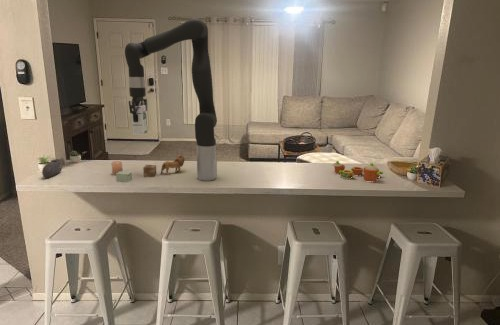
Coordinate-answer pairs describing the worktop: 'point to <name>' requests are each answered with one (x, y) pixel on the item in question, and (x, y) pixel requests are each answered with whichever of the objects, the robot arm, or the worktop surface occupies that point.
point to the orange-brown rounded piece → (116, 167)
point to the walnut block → (149, 170)
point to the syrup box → (140, 121)
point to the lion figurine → (173, 164)
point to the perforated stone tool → (52, 168)
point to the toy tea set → (358, 171)
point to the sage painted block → (124, 176)
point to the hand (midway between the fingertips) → (139, 120)
